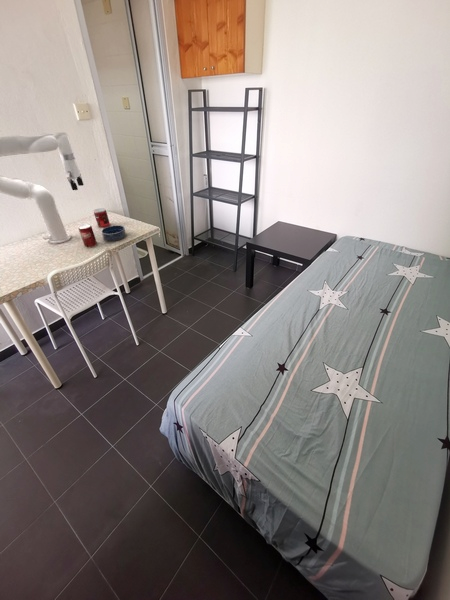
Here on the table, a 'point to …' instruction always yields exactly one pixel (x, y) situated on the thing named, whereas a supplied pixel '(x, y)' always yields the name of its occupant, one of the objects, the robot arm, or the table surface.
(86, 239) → the soda can
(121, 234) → the dark blue bowl
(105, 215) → the canned food
